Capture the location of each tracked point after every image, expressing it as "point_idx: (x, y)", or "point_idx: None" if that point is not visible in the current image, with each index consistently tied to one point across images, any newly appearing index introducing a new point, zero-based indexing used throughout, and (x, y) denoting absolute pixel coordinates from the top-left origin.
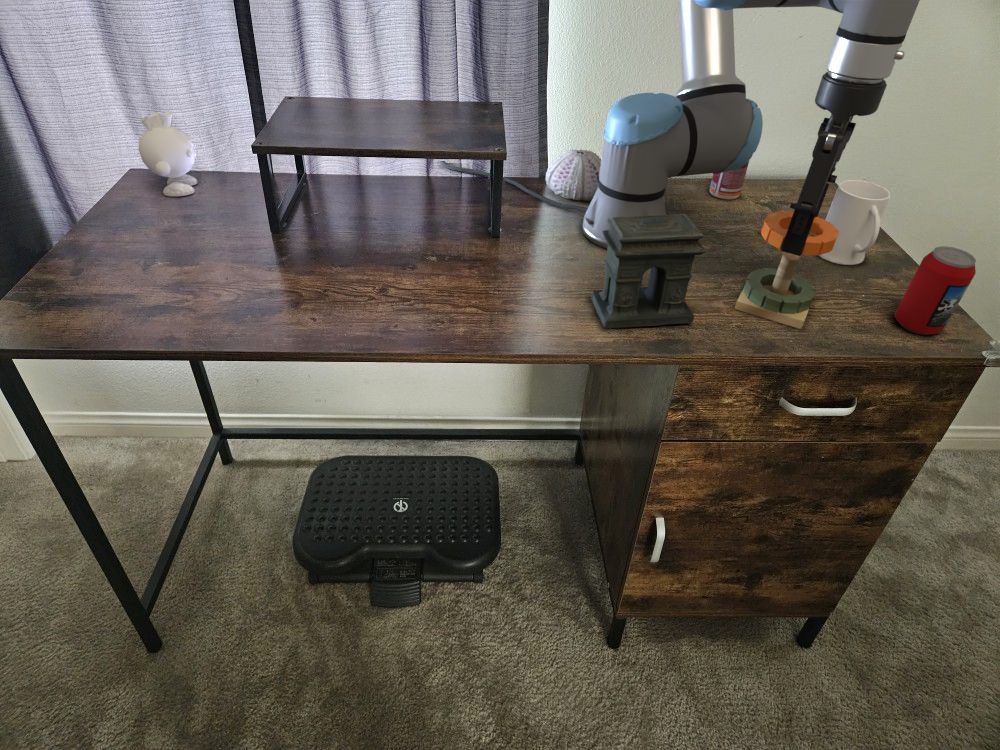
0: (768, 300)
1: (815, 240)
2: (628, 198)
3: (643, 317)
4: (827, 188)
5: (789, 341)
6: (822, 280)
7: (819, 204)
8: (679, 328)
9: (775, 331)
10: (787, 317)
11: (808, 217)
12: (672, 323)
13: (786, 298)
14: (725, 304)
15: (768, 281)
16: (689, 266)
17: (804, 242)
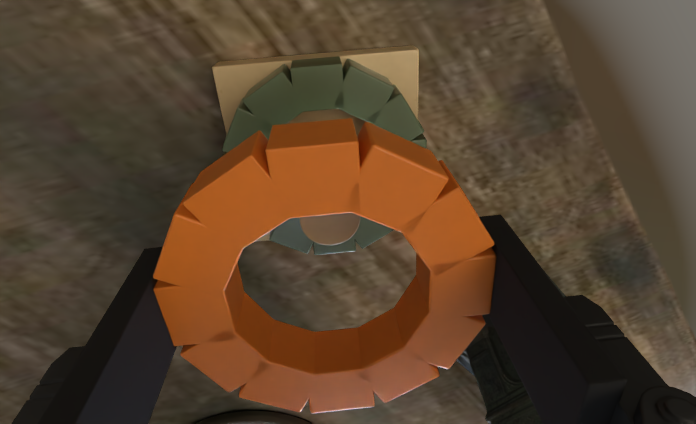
0: None
1: (448, 219)
2: None
3: None
4: (77, 419)
5: (488, 55)
6: (75, 64)
7: (130, 334)
8: (550, 270)
9: (458, 101)
10: (417, 97)
11: (661, 380)
12: (559, 289)
13: (397, 134)
14: (402, 235)
15: None
16: None
17: (528, 253)
